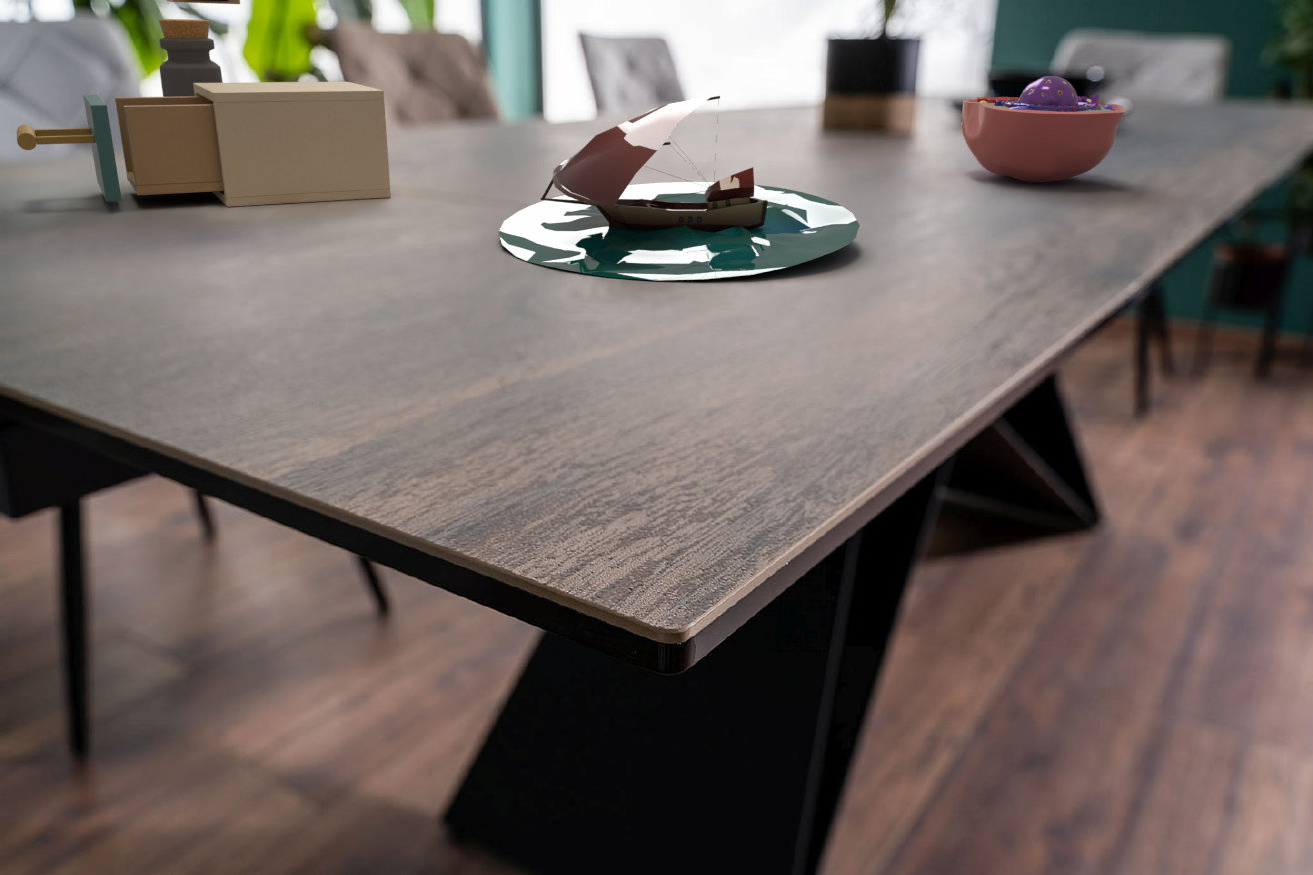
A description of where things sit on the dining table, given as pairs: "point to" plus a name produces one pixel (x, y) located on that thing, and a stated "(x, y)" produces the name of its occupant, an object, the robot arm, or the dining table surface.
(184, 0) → the block
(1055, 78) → the cell model
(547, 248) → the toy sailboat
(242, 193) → the cabinet
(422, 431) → the dining table surface
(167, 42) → the bottle
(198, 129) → the drawer
